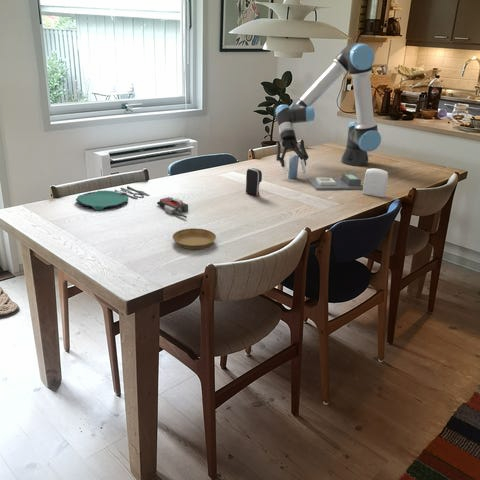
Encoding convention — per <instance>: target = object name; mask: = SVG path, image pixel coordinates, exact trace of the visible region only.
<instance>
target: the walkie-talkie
mask: <svg viewBox="0 0 480 480" xmlns="http://www.w3.org/2000/svg"><path fill="white" fill-rule="evenodd" d="M156 204H157V205H158V206H159V207H160V208H162V209H164V210H165V211H164V212H166V213H167V214H170V215H177V216H179V217H182V218H185V219H187V218H188V216H187V215H185V214H182V213H183V212H188V211H189V204H188V203H185V202H183V200H181V199H179V198H174V197H172V196H171V197H170V196H168V197H164V198H160V199H159V201H157V202H156Z"/></svg>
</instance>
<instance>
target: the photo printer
mask: <svg viewBox="0 0 480 480" xmlns="http://www.w3.org/2000/svg"><path fill="white" fill-rule="evenodd" d="M388 179H389V172H388V171H387V170H384V169H381V168H373V167H372V168H368V169H366V172H365V173H364V182H363V190H362V194H363V195H365V196H366V195H368V196H372V197H373V196H374V197H379V198H385V197H386V191H387V188H388V187H387V185H388Z"/></svg>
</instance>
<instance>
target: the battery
mask: <svg viewBox="0 0 480 480" xmlns="http://www.w3.org/2000/svg"><path fill="white" fill-rule="evenodd" d="M245 177H246V179H245V181H246V182H245V193H247V194H249V195H252V196H254V197H257V196H259V195H260V192H259V190H260V189H259V188H260V183H261V182H262V181H263V180H262V179H263V173H262V171H261V170H260V169H258V168H254V167H251V168H248V169H247V170H246V176H245Z"/></svg>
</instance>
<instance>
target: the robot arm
mask: <svg viewBox="0 0 480 480" xmlns="http://www.w3.org/2000/svg"><path fill="white" fill-rule="evenodd" d="M375 57H376V56H375V51H374V49H373V48H372V47H371V46H370V45H368V44H366V43H359V42H352V43H349V44H348V45H346V46H345V47H344V48H343V49H342V50H341V51H340V52H339V53H338V54H337V55H336V56H335V57H334V58H333V60H332V61H333V63H332V64H331V65H330V66H328V68H327V69H326V70H325V71H324V72H323V73H322V74H321V75H320V76H319V78H318V79H316V81H315V82H314V83H312V85H311V86H310V87H309V88H308V89H307V90H306V91H305V92H303V93H304V94H303V95H302V96H300V97H299V99H297V101H296V102H293V103H292V104H291V105H290V106H289V105H288V104H280V105H278V106H277V107H276V108H275V116H276V117H275V118H276V121H277V122H276V123H277V126H278V132H279V136H280V140H281V141H277V142H276V144H275V147H276V158H275V159H276V161H277V162H278V161H279V163H280V166H281V168H283V173H284V175H286V174H287V173H288V172H289V169H288V167H287V161H286V159H285V157H286V154H287V151H289V150H290V151H293V152H294V153H295V155H297V156H299V159H300V165H301V171H302V173H303V174H305V173H306V172H307V168H306V167H307V160H308V159H309V154H308V152H307V151H306V148H305V146H304V143H303V141H302V140H301V141H298V140H297V137H296V132H295V128H294V124H298V123H299V124H300V123H309V122H313V121H314V120H315V117H316V116H315V115H316V114H315V109H314V108H315V107H313V105H314V104H315V103H317V101H318V100H319V99H320V98H321V97H322V96H323V95H324V94H325V93H326V92H327V91H328V90H329V89H330V88H331V87H332V85H334V84H335V82H336V81H338V79H339V78H340V77H341V76H342V75H343V74H347V73H348V74H349V76H351V77H352V83H353V84H352V87H353V94H354V96H353V97H354V105H355V113H356V114H355V115H356V121H351V122H349V124H348V131H347V138H346V145H345V146H346V147H345V149H344V151H343V153H342V156H341V159H340V162H341V163H342V164H345V165H349V166H356V167H357V166H358V167H360V166H361V167H363V166H367V165H368V164H369V156H368V152H369V153H371V152H373V151H375V150H377V149H378V147H380V145H381V143H382V136H381V134H380V132H379V131H378V130H379V129H378V123H377V122H376V121H375V119H374V109H373V97H372V96H373V94H372V93H373V92H372V83H371V82H372V81H371V73H372V72H373V64H374V62H375V59H376V58H375ZM281 147H283V150H282V154H281Z"/></svg>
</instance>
